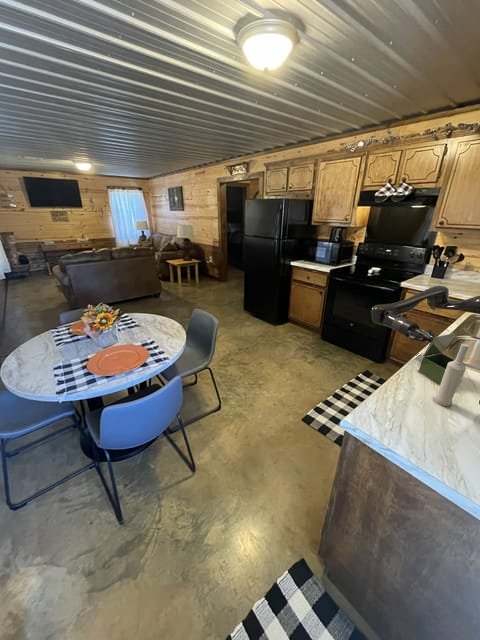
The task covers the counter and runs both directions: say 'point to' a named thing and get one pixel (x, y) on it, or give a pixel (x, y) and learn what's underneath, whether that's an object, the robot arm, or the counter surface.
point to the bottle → (451, 378)
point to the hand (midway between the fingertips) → (438, 343)
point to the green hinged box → (435, 366)
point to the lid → (439, 344)
